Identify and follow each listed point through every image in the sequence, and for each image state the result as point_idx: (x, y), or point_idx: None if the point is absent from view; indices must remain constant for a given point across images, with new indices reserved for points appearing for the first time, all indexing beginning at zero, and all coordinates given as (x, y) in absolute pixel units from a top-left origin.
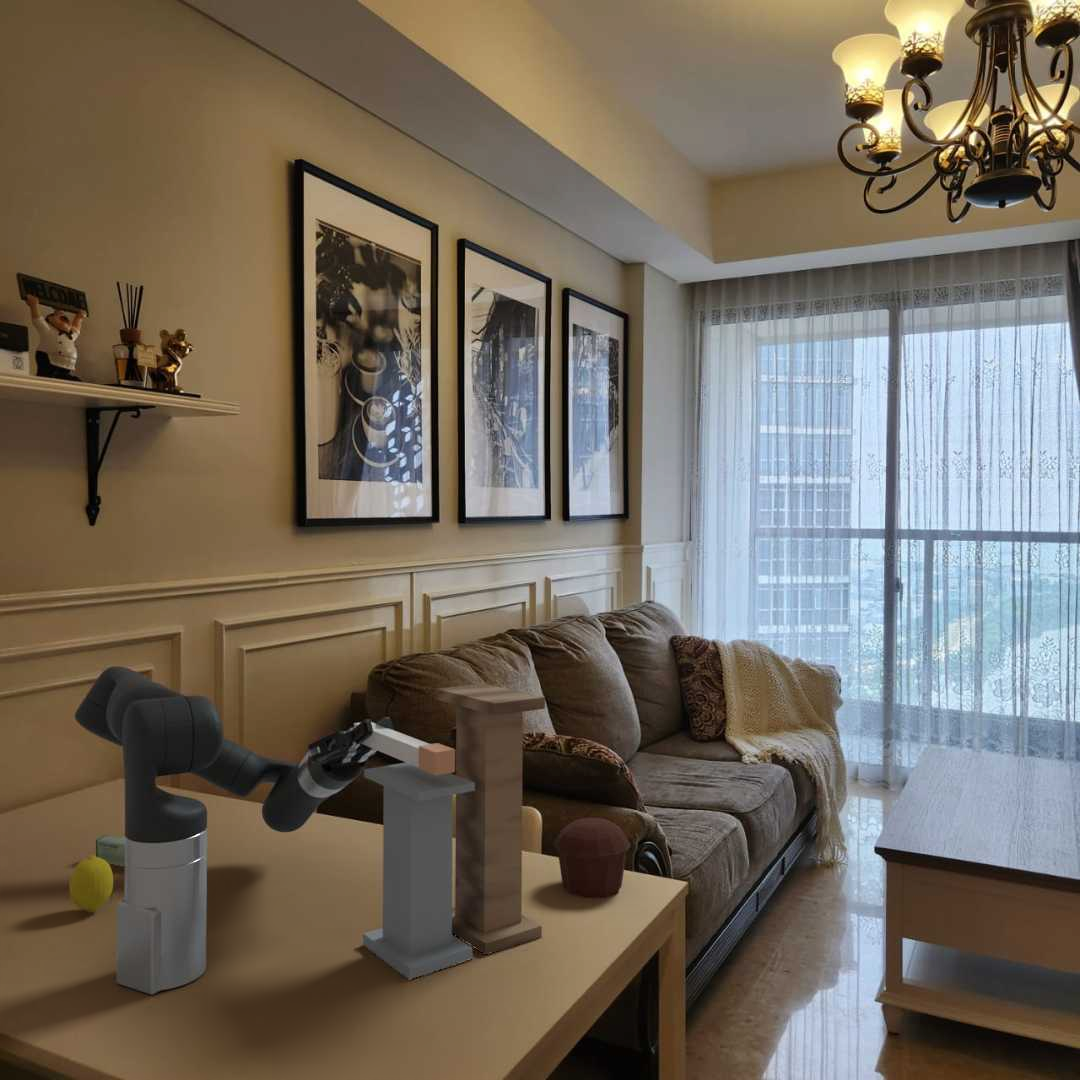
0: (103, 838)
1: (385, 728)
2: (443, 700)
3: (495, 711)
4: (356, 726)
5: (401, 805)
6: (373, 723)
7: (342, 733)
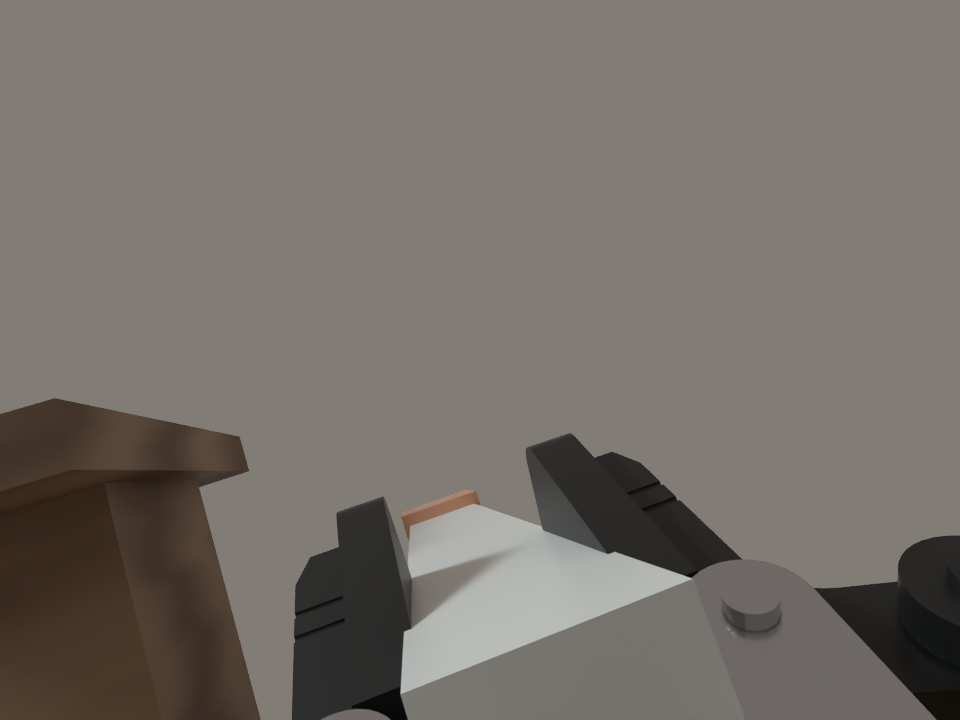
0: None
1: (427, 574)
2: (111, 464)
3: (244, 460)
4: (662, 485)
5: None
6: (423, 632)
7: (896, 594)
